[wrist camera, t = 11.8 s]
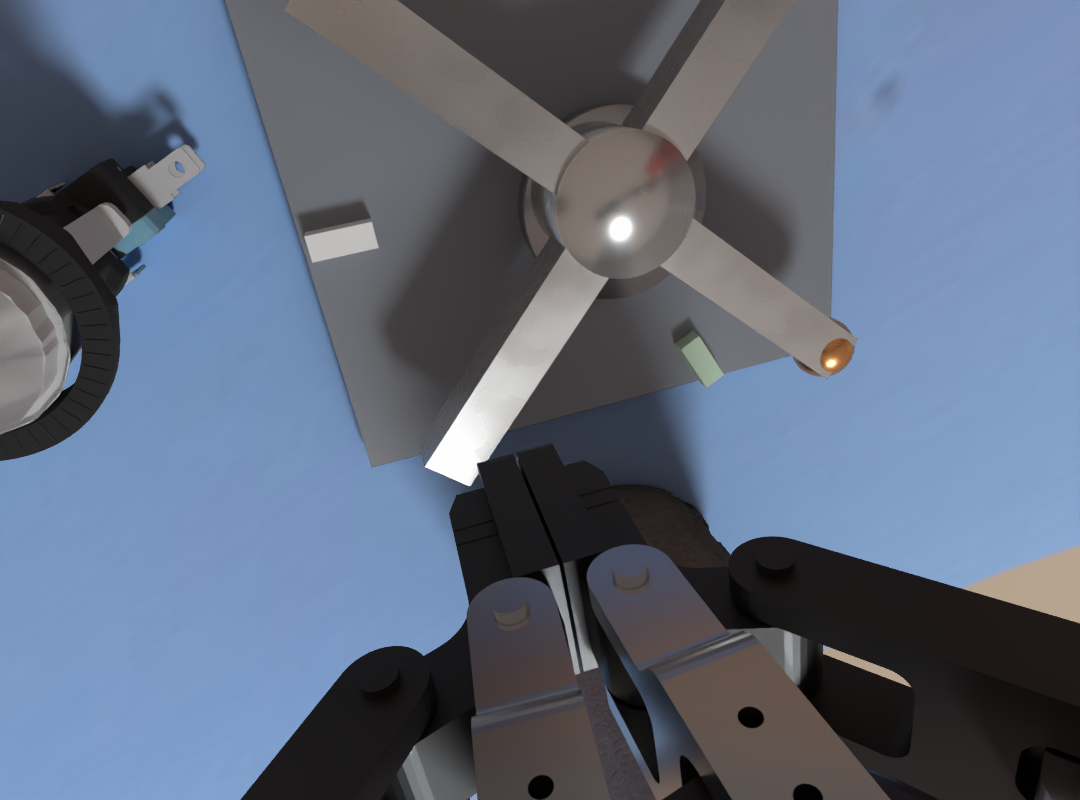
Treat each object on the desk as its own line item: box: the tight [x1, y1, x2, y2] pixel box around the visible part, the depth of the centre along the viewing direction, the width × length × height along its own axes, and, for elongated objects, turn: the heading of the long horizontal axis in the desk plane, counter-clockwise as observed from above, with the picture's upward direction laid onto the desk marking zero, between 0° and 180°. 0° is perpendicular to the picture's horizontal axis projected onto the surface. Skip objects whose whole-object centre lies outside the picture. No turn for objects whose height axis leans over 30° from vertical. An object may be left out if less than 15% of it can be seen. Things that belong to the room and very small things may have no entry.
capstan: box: [285, 0, 858, 486], centre depth 22 cm, size 20×19×4 cm
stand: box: [225, 0, 838, 467], centre depth 24 cm, size 18×16×2 cm
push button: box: [0, 144, 205, 461], centre depth 17 cm, size 7×5×10 cm
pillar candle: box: [575, 485, 730, 800], centre depth 25 cm, size 10×10×15 cm
